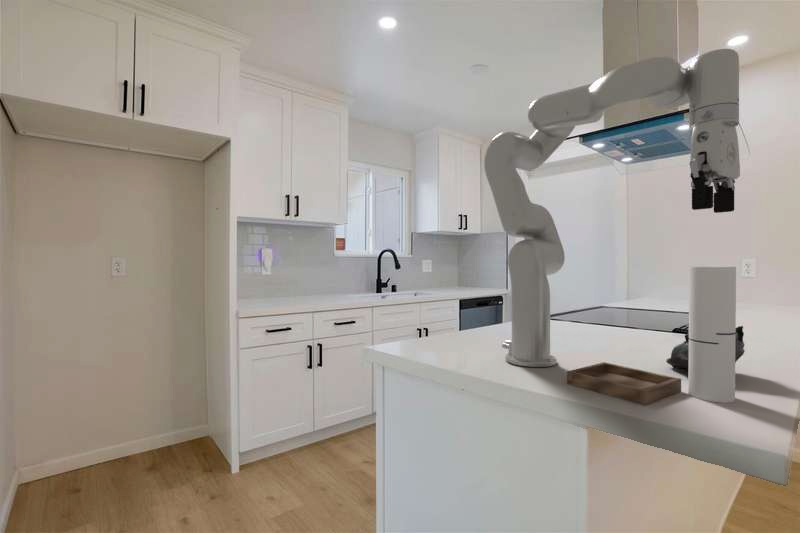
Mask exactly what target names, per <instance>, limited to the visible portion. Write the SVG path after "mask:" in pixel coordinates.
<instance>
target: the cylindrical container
mask: <svg viewBox="0 0 800 533" xmlns="http://www.w3.org/2000/svg"><path fill="white" fill-rule="evenodd" d="M736 315H737V266H732V265H731V266H729V265H726V266H724V265H716V266H715V265H714V266H713V265H712V266H711V265H708V266H707V265H704V266H703V265H701V266H697V265H692V266H691V265H690V266H688V333H689V369H688V372H687V373H688V374H687V375H688V380H687V381H688V383H687V384H688V385H687V386H688V387H687V388H688V390H687V391H688V392H687V393H688V395H689V396H690V397H693V398H696V399H698V398H699V400H702V401H707V402H710V403H711V402H713V403H722V404H726V403H727V404H729V402H730V403H734V402H735V401H736V363H735V335H736V334H735V332H736V328H737V327H736V324H737V323H736V320H737V317H736Z"/></svg>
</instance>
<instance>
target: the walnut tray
mask: <svg viewBox="0 0 800 533" xmlns="http://www.w3.org/2000/svg"><path fill="white" fill-rule="evenodd" d="M566 384H569V385H573V386H574V387H575V386H576V387H579V388H582V389H587V390H590V391H593V392H598V393H601V394H604V395H607V396H610V397H611V396H612V397H615V398H618V399H622V400H625V401H629V402H632V403H636V404H640V405H643V406H648V405H650V404H653V403H654V402H657V401H660V400H663V399H665V398H668V397H670V396H673V395H675V394H678V393H680V392H682V378H680V377H679V378H678V377H674V376H669V375H665V374H661V373H656V372H651V371H646V370H642V369H637V368H633V367H628V366H625V365H624V366H623V365H618V364H614V363H611V362H604V361H603V362H600V363H595V364H592V365H587V366H584V367H580V368H575V369H571V370H567V371H566Z"/></svg>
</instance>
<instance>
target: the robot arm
mask: <svg viewBox="0 0 800 533" xmlns="http://www.w3.org/2000/svg"><path fill="white" fill-rule="evenodd" d="M643 99H646V100H647V101H648V102H650V103H651V104H652V105H653V106H654V107H656V108H657V109H660V110H664V111H665V110H666V111H667V110H672V109H676V108H679V107H681V106H684V105H687V104H689V108H688V109H689V113H688V114H689V115H688V118H689V119H688V120H689V122H688V123H689V125H688V127H689V128H688V130H689V133H690V134H691V143H690V157H689V158H690V160H689V168H690V175H689V176H690V178H691V182H690V187H691V210H694V211H697V210H707V209H713V213H715V214H717V213H731V212H734V211H735V189H736V188H735V183H736V180H738V178H740V176H741V166H740V165H741V164H740V149H739V148H740V146H739V137H738V132H737V128H736V127H738V126H739V124H740V55H739V53H738V52H737V51H736V50H735V49H731V48H719V49H713V50H711V51H708V52H704V53H702V54H700V55H699V56H697V57H696V58H695V59H693V60H692V61H691V63H690V66H689V68H685V67H683V66H682V65H681V64H680V62H679V61H677V60H676V59H674V58H673V57H669V56H656V57H649V58H645V59H642V60H638V61H634V62H631V63H628V64H625V65H621V66H619V67H616V68H614V69H612V70H611V71H608V72H607V73H606V74H603V76H601V77H599V78H598V79H596V81H594V82H592V83H589V84H584V85H581V86H577V87H573V88H569V89H565V90H562V91H558V92H554V93H550V94H546V95H543V96H541V97H537V99H535V100H533V101H532V103H531V104H530V106H529V108H528V111H527V119H528V122H529V124H530V125H531V126H532V127H533V129H535V131H534V132H533V134H532V135H531V136H530V137H528V136H527V135H524V134H522V133H520V132H514V131H505V132H504V131H503V132H500V133H499V134H497V135H496V136H495V137H494V138H492V140H491V141H490V143H489V144H488V147H487V148H486V152H485V156H484V166H483V167H484V172H485V176H486V179H487V182H488V185H489V188H490V189H491V190H490V191H491V194H492V196H493V199H494V203H495V207H496V210H497V213H498V217H499V219H500V223H501V226H502V228H503V230H504V232H505V233H506V234H507V235H509V236H511V237H515V238H522V239H521V240H520V241H518V242H515V244H514V245H513V246H512V247H511V248H510V250H509V252H508V256H507V264H508V265H507V266H508V271H509V275H510V285H511V286H510V288H511V291H510V292H511V294H510V295H511V340H508V339H507V340H505V342H503V343H502V344H501V347H502V348H503V349H506V350H507V349H508V353H506V355H505V361H506V362H507V363H510V364H512V365H516V366H519V367H520V366H521V367H526V368H529V367H530V368H546V367H553V366H555V365H557V363H558V362H557V361H558V360H557V357H555V356H554V355H551V291H550V290H551V289H550V283H549V280H548V276H551V275H553V274H556V273H558V272H559V271H560V270H562V267H563V266H564V264H565V252H564V248H563V244H562V241H561V238H560V236H559V232H558V230H557V227H556V226H557V225H556V223H555V221H554V219H553V216H552V214H551V212H550V211H549V210H548V209H547V208H546V207H544V206H543V205H540V204H538V203H534V202H532V201H531V200H530V198H529V195H528V193H527V190H526V186H525V183H524V181H523V179H522V178H521V175H520V173H518V171H517V169H518V170H521V171H533V170H536V169H538V168H539V167H541V166H542V165H543V164H544V163H545V162H546V161H547V160H548V159H549V158H550V157H551V156H552V155H553V154H554V153H555V152H556V150H557V149H558V148H559V147H560V146H561V145H562V144H563V143H564V142H565V141H566V139H567V138H569V136H570V135H571V134H572V132H573V131H574V130H575V127H576V126H582V125H588V124H592V123H597V122H598V121H600V120H601V118H602V117H603V115H604V113H605V112H606V110H608V109H610V108H612V107H615V106H616V105H621V104H624V103H628V102H632V101H637V100H643ZM712 183H713V185H711V184H712ZM714 190H715V192H714ZM523 238H524V239H523Z"/></svg>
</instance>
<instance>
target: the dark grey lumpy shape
mask: <svg viewBox="0 0 800 533" xmlns="http://www.w3.org/2000/svg"><path fill="white" fill-rule="evenodd" d="M743 329H744V326H743V325H741V326H740V325H739V326H737V327H736V332H735V334H736V335H735V364H736V362H738V360H739V359H740V358H741V357H742V356H743V355H744V354H745V352H746V351H745V350H746V349H744V348H745V342H744V335H745V333H744V330H743ZM684 339H685V341H683V342H682V343H679V344H676V345H675V346H674V347H673V349H672V351H671V353H670V357H669V358H666V361H665V362H666V363H667V364H668V365H670V366H671V367H672V368H674V369H676V368H680V369H687V370H689V332H687V333H686V334H685V335H684Z"/></svg>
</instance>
